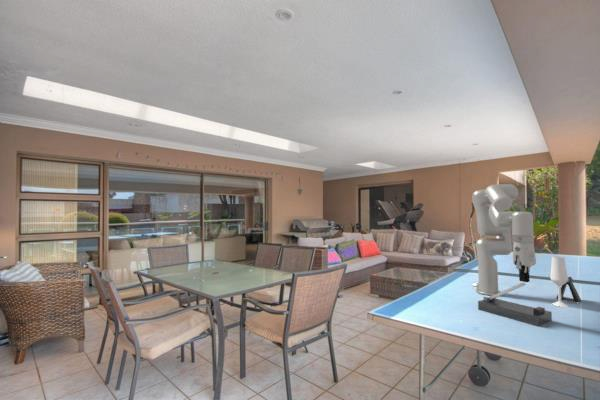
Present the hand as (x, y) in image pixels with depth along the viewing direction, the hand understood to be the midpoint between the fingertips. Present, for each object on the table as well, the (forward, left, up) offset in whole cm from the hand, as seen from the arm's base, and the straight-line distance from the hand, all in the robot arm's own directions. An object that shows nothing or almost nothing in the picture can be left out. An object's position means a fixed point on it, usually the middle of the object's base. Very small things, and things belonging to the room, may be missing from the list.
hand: (524, 281), depth 128 cm
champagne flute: (-1, +37, -16) cm, 40 cm away
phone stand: (-3, +53, -16) cm, 56 cm away
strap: (-8, 0, -7) cm, 10 cm away
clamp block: (-5, 0, -16) cm, 17 cm away
